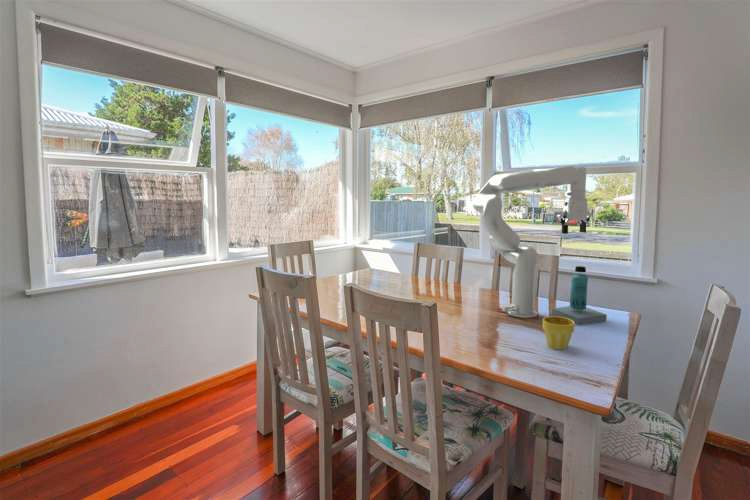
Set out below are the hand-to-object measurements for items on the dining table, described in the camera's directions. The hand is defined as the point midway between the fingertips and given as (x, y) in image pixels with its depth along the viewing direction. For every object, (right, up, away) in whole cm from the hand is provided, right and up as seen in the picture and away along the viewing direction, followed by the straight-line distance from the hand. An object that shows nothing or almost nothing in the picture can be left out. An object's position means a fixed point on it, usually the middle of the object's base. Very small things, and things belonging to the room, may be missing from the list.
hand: (573, 232), depth 181 cm
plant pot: (-24, -43, -36) cm, 61 cm away
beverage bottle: (-1, -35, -6) cm, 35 cm away
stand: (-1, -38, -6) cm, 38 cm away
